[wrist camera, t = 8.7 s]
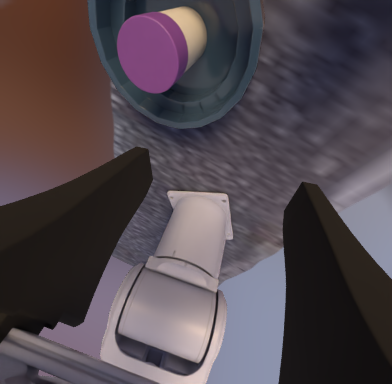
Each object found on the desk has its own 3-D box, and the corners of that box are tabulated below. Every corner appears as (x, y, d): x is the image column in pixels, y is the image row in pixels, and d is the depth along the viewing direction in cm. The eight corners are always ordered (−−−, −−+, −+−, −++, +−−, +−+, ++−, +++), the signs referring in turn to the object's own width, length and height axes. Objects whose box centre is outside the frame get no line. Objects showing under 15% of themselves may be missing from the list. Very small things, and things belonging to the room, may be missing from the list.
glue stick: (211, 59, 14) (185, 90, 10) (171, 67, 15) (133, 97, 11) (203, -2, 12) (167, 5, 8) (157, 12, 13) (104, 24, 9)
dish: (262, 102, 15) (260, 124, 13) (150, 113, 19) (132, 132, 16) (270, -132, 9) (268, -175, 6) (91, -49, 12) (46, -58, 10)
